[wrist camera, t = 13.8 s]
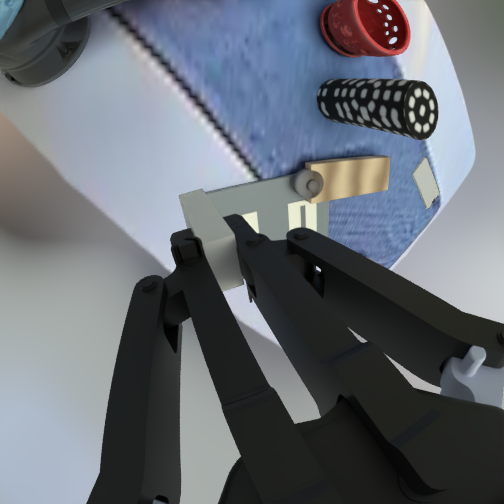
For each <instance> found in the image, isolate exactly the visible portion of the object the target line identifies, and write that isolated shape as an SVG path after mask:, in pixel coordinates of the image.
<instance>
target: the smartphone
mask: <svg viewBox="0 0 504 504" xmlns="http://www.w3.org/2000/svg"><path fill="white" fill-rule="evenodd" d="M412 177H413V179H414V181H415V184H416V186H417V188H418V191H419V193H420V195H421V198H422V200H423V203H424V205H425V208H426V209H429V208H430V206H431V205H432V204H433V202H434V201H435V199H436V198H437V196H438V195H439V188H438V186H437V183H436V180H435V177H434V175H433V172H432V169H431V167H430V164H429V162H428V159H427V157H424V158H423V159H422V160H421V162H420V163H419V165H418V166H417V167H416V168H415V170H414V171H413V173H412Z"/></svg>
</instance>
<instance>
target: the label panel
mask: <svg viewBox="0 0 504 504" xmlns="http://www.w3.org/2000/svg"><path fill="white" fill-rule="evenodd" d="M295 174H296V173H295ZM295 174H290V175H285V176H279V177H274V178H269V179H264V180H259V181H255V182H250V183H245V184H241V185H236V186H232V187H227V188H223V189H218V190H214V191H210V192H206V195H207V196H208V198H209V199H210V201H211V202H212V203H213V205H214V206H215V208H216V209H217V210H218V212H219V213H220V215H221V216H222V217H225V216H229V215H232V214H238V215H241V216H243V218H244V219H245V220H246V221H247V222H248V223H249V225H250V226H251V227H252V228H253V229H254V230H255V231H256V233H261V234H264V235H266V236H267V237H268V238H269V239H270V240H284V239H286V234H287V232H288V231H290V230H291V229H294V228H299V227H304V228H309V229H312V230H314V231H316V232H318V233H320V234H322V235H324V236H326V237H328V226H329V201H325V202H319V203H314V204H310V203H309V202H307V201H306V200H305V198H304V197H302V196H301V195H299V194H297V193H296V192H295V190H294V188H293V178H294V176H295ZM243 279H244V277H243Z"/></svg>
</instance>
